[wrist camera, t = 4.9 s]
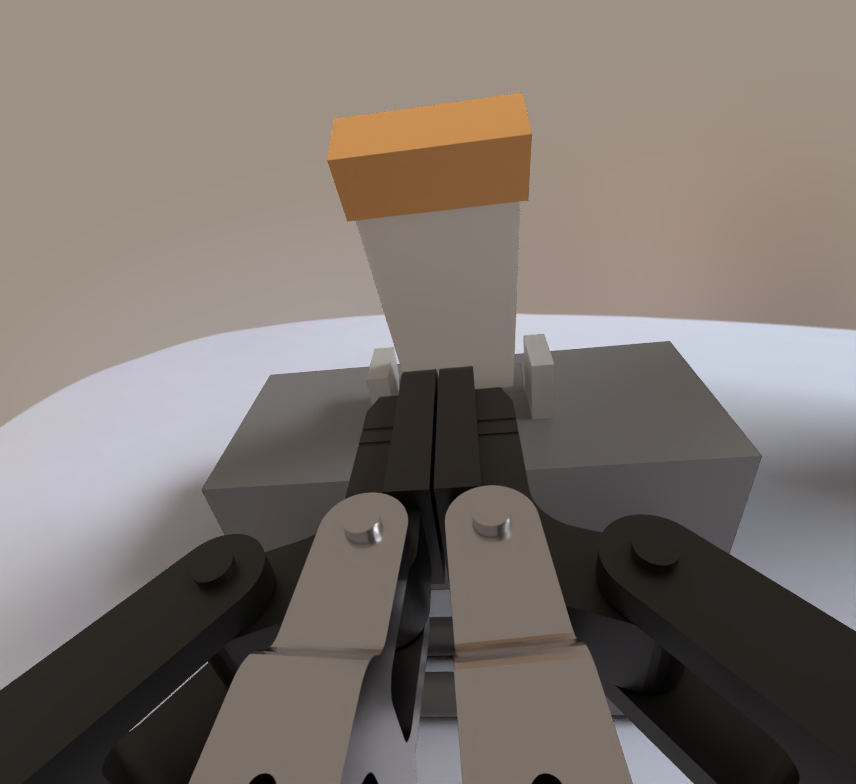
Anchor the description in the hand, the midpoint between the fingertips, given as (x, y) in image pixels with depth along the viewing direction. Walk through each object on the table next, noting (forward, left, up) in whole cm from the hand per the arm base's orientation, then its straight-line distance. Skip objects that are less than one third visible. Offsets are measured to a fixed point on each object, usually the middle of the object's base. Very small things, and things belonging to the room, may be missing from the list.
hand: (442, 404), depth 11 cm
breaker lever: (-4, -11, -7) cm, 14 cm away
